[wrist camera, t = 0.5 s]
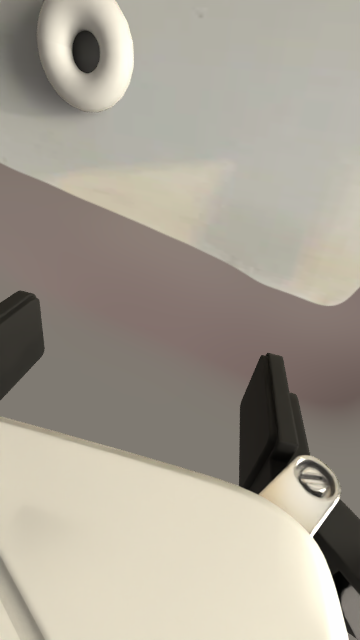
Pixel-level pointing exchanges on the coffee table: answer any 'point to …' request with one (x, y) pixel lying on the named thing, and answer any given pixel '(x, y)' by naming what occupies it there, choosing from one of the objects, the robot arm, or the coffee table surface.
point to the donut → (57, 59)
